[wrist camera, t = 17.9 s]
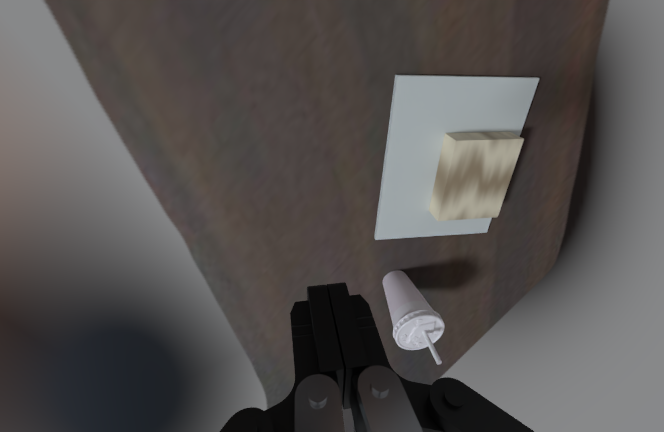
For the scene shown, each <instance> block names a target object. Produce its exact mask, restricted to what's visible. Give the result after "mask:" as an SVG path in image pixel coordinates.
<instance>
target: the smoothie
mask: <svg viewBox="0 0 664 432" xmlns="http://www.w3.org/2000/svg"><path fill="white" fill-rule="evenodd" d="M383 286H384V290H385V294H386V298H387V303H388V307H389V311H390V315H391V319H392V323H393V327H394V329H393V337H394V339H395V340H396V343H397V344H398V346H400V347H401V348H403V349H407V350H418V349H422V348H425V347H428V346H429V348H430V350H431V352H432V355H433V357H434V359H435V361H436V363H437V364H441V363H442V362H441V360H440V358H439V356H438V354H437V352H436V350H435V348H434V346H433V343H434V342H436V341H437V340H438V339H439V338H440V337H441V335H442V334H443V332H444V328H445V326H444V322H443V320H442V318H441V316H440V315H439V314H438V313H437V312H435V311H433V309H432V308H431V306H430V305H429V304H428V303H427V301H426V300H425V299H424V297H423V296H422V295H421V293H420V292H419V291H418V289H417V288H416V287H415V285H414V284H413V283H412V281H411V280H410V279H409V277H408V276H407V275H406V274H405V273H404V272H403V271H399V270H396V271H392V272H390V273H388V274H387V275H386V276H385V277H384V279H383Z"/></svg>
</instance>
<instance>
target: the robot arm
mask: <svg viewBox="0 0 664 432" xmlns="http://www.w3.org/2000/svg"><path fill="white" fill-rule="evenodd" d="M290 315H291V328H292V341H293V353H294V366H295V383H294V387H293V389H292V391H291V392H290V394H289V395H288V396H287V397H286V398H285V399H284V400H283V401H282V402H280V403H279V404H277V405H275V406H273V407H271V408H269V409H267V410H265V411H263V410H261V409H259V408H246V409H243V410H240V411H239V412H237V413H235V414H234V415H233V416H232V417H231V418H230V419H229V420H228V422H227V423H226V424H225V426H224V427H223V428H222V429H221V431H220V432H345V427H344V419H343V410H342V404H343V409H348V408H351V411H352V416H353V420H354V425H353V432H534V431H533V430H531V429H530V428H528V427H527V426H525V425H524V424H522V423H521V422H519V421H518V420H517V419H515V418H514V417H512V416H511V415H509V414H508V413H506V412H504V411H503V410H502V409H500V408H499V407H497V406H496V405H494V404H493V403H492V402H490V401H489V400H487V399H485V398H484V397H483V396H481V395H480V394H478V393H477V392H475V391H474V390H473V389H471V388H470V387H468V386H466V385H465V384H464V383H462V382H460V381H459V380H456V379H453V378H440V379H438V380H436V381H435V382H434V383H433V384H432V385H427V384H422V383H416V382H411V381H408V380H406V379H404V378H402V377H400V376H399V375H398V374H397V373H395V372H394V370H393V369H392V368H391V366H390V364H389V362H388V359H387V356H386V353H385V351H384V348H383V345H382V342H381V339H380V336H379V333H378V330H377V327H376V324H375V321H374V318H373V317H372V313H371V310H370V307H369V304H368V303H367V302H366V301H365V300H364V298H363V297H362V296H361V295H360V294H359V295H351V296H349V293H348V289H347V286H346V283H335V284H327V285H318V286H309V287H307V301H300V302H295V303H294V306H293V308H292V311H291V313H290Z"/></svg>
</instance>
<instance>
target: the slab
mask: <svg viewBox="0 0 664 432" xmlns="http://www.w3.org/2000/svg"><path fill="white" fill-rule="evenodd" d="M523 141H524V138H521V137H519V136H517V135H515V134H513V133H511V132H474V133H445V135H444V140H443V145H442V149H441V154H440V159H439V164H438V168H437V173H436V178H435V183H434V187H433V192H432V197H431V202H430V206H429V211H430V213H431V214H432V215H433V216H434V218H435V219H436V220H437V221H448V220H463V219H477V218H492V217H498V215H499V212H500V209H501V206H502V203H503V200H504V197H505V194H506V191H507V188H508V185H509V182H510V179H511V176H512V173H513V170H514V168H515V165H516V162H517V159H518V156H519V153H520V150H521V147H522V144H523Z"/></svg>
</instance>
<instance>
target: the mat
mask: <svg viewBox="0 0 664 432" xmlns="http://www.w3.org/2000/svg"><path fill="white" fill-rule="evenodd" d="M539 79H540V78H537V77H498V76H446V75H395V82H394V90H393V98H392V106H391V113H390V121H389V129H388V136H387V144H386V152H385V159H384V167H383V175H382V182H381V190H380V198H379V205H378V213H377V221H376V228H375V236H374V237H375V240H380V239H395V238H410V237H426V236H441V235H457V234H472V233H487V231H488V228H489V225H490V222H491V219H492V218H477V219H463V220H448V221H437V220H436V219H435V218H434V216H433V215H432V214H431V213H430V211H429V206H430V202H431V197H432V192H433V187H434V183H435V178H436V173H437V168H438V164H439V159H440V154H441V149H442V145H443V140H444V135H445V133H474V132H511V133H513V134H515V135H517V136H519V137H520V134H521V131H522V128H523V125H524V123H525V120H526V117H527V114H528V111H529V108H530V105H531V102H532V99H533V96H534V93H535V90H536V87H537V85H538V82H539Z"/></svg>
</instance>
